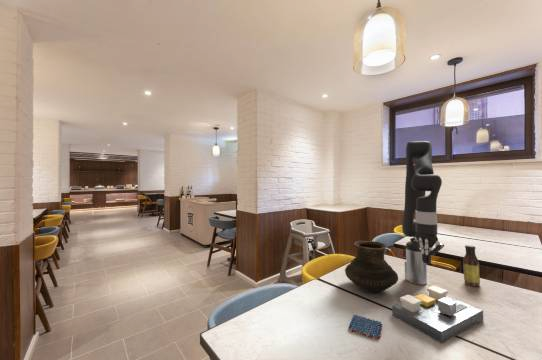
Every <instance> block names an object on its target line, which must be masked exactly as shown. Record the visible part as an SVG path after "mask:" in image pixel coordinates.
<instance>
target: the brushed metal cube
mask: <svg viewBox="0 0 542 360" xmlns="http://www.w3.org/2000/svg"><path fill="white" fill-rule="evenodd" d="M438 311H441V312H443V313H445V314H447V315H449V316H451V315H454V314H456V302H454V301H451V300H449V299H446V298H442V299H440V300H438Z"/></svg>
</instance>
